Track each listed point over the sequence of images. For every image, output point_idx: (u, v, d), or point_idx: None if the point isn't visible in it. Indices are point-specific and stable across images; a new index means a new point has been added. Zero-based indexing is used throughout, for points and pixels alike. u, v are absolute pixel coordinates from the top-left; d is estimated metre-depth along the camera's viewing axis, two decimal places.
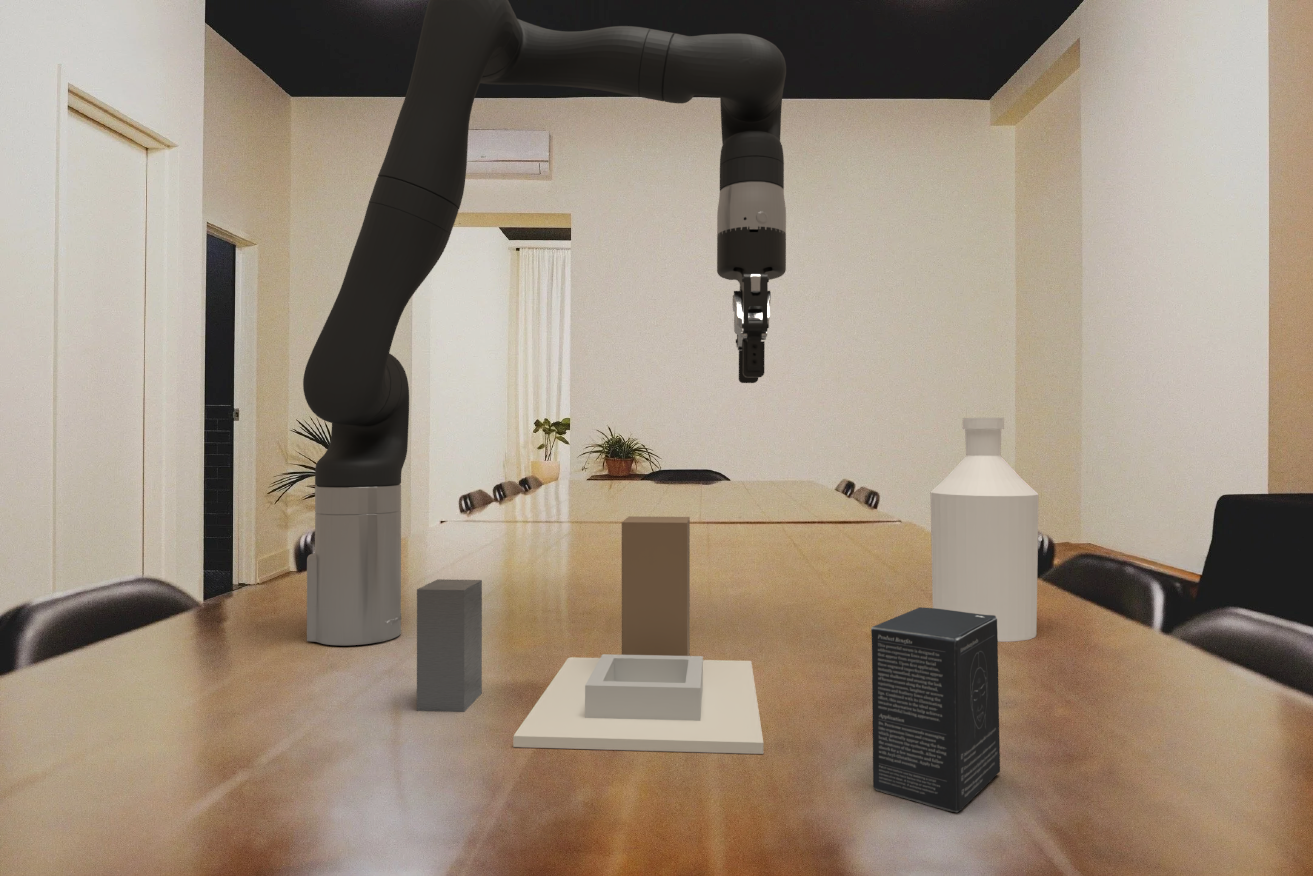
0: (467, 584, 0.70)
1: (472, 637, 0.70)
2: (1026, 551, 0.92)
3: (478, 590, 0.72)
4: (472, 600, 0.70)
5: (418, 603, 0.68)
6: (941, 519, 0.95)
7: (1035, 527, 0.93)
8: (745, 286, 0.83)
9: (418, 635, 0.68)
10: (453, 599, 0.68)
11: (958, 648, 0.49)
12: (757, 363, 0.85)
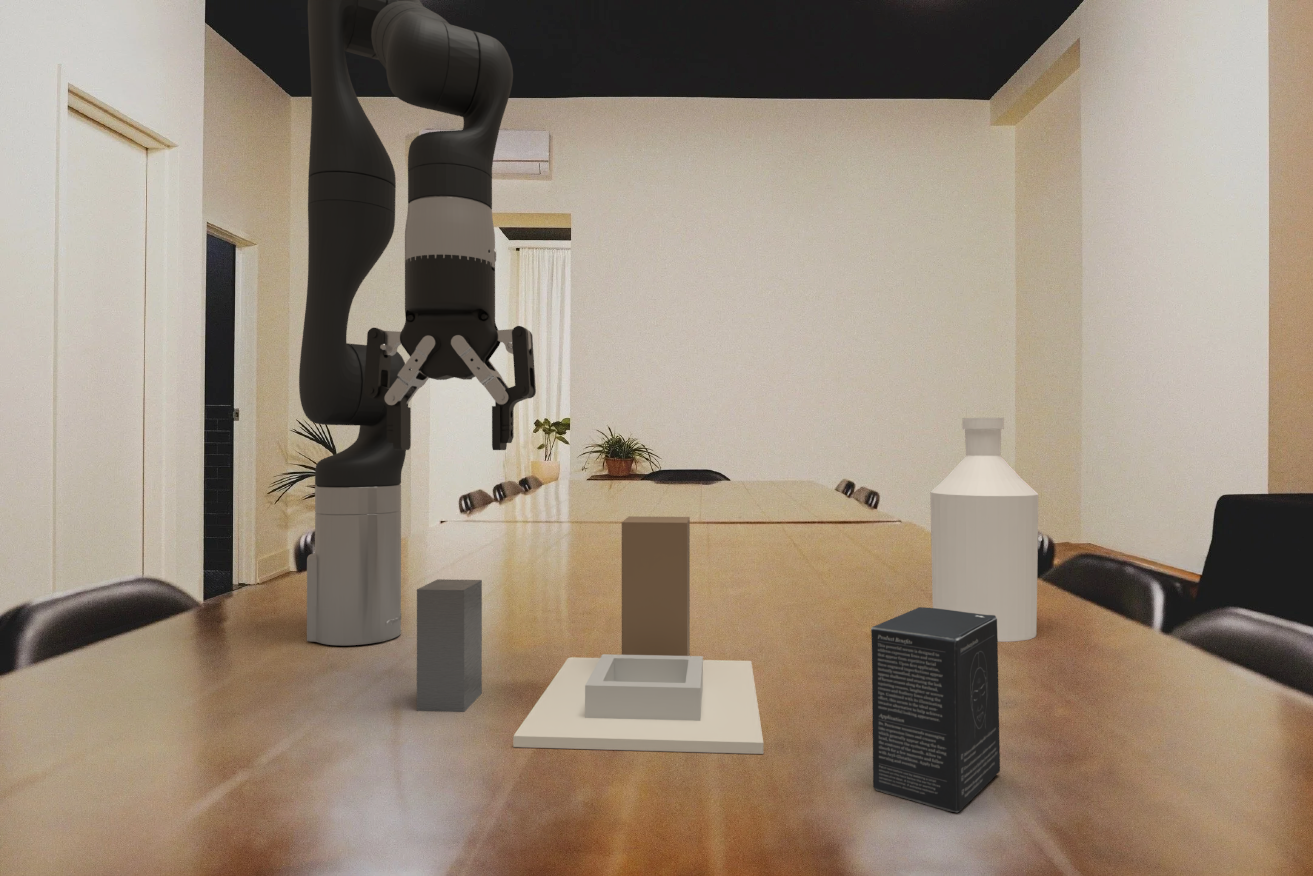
0: (467, 584, 0.70)
1: (472, 637, 0.70)
2: (1026, 551, 0.92)
3: (478, 590, 0.72)
4: (472, 600, 0.70)
5: (418, 603, 0.68)
6: (941, 519, 0.95)
7: (1035, 527, 0.93)
8: (527, 342, 0.69)
9: (418, 635, 0.68)
10: (453, 599, 0.68)
11: (958, 648, 0.49)
12: (511, 434, 0.70)
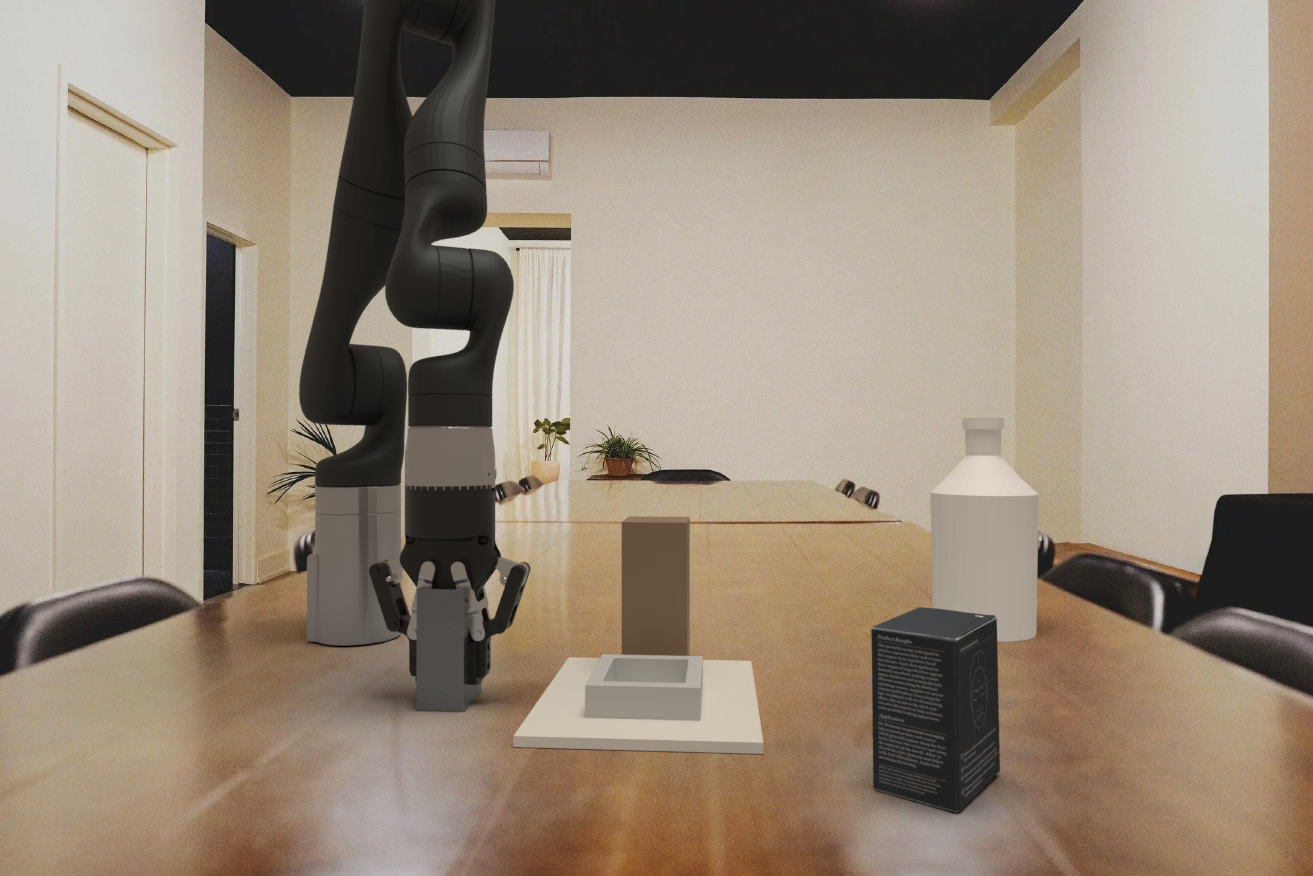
0: None
1: None
2: (1026, 551, 0.92)
3: None
4: None
5: (418, 603, 0.68)
6: (941, 519, 0.95)
7: (1035, 527, 0.93)
8: (520, 584, 0.69)
9: (418, 635, 0.68)
10: (453, 599, 0.68)
11: (958, 648, 0.49)
12: (488, 665, 0.70)
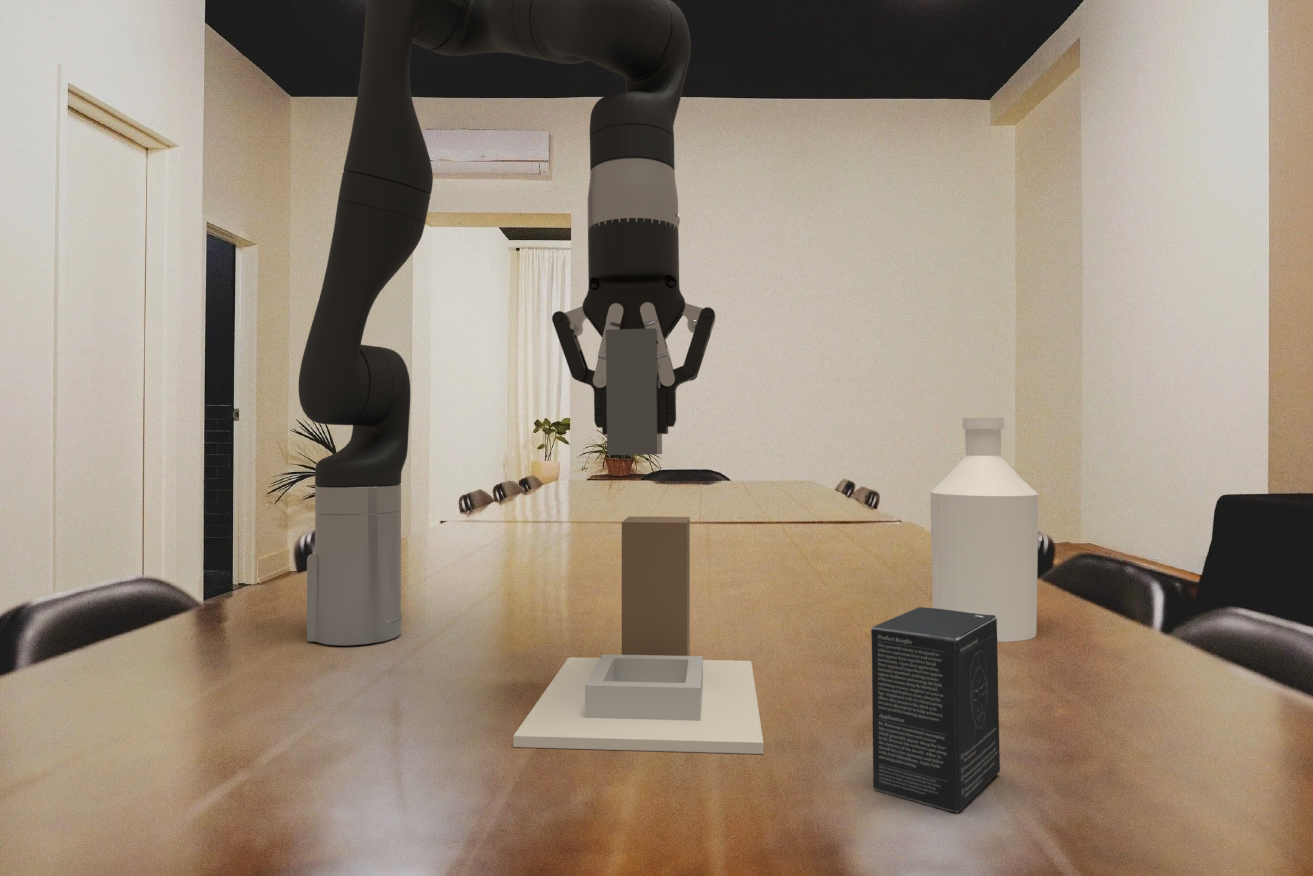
0: None
1: (658, 385, 0.67)
2: (1026, 551, 0.92)
3: None
4: None
5: (607, 344, 0.66)
6: (941, 519, 0.95)
7: (1035, 527, 0.93)
8: (711, 327, 0.66)
9: (608, 377, 0.66)
10: (644, 338, 0.65)
11: (958, 648, 0.49)
12: (674, 417, 0.68)
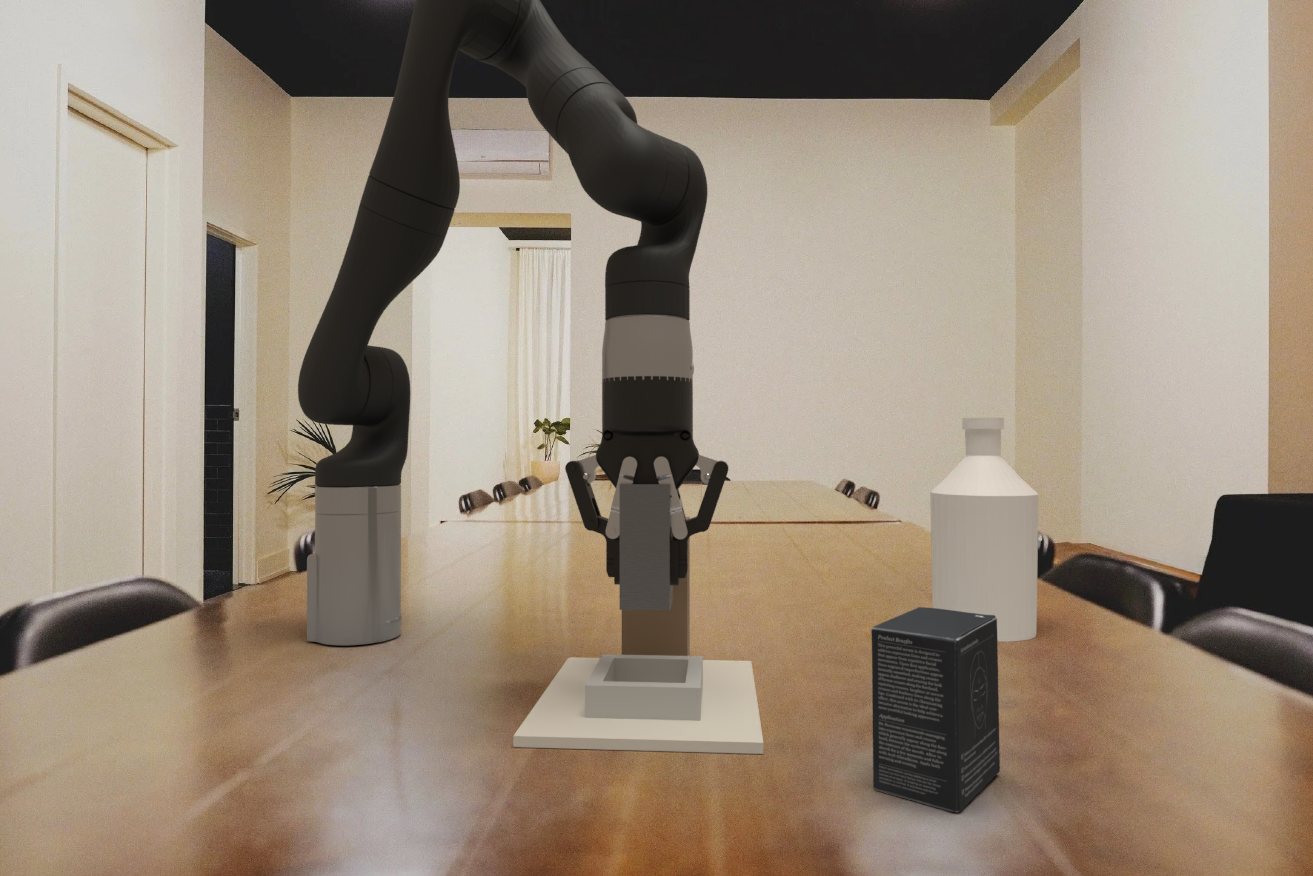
0: None
1: None
2: (1026, 551, 0.92)
3: None
4: None
5: (621, 498, 0.66)
6: (941, 519, 0.95)
7: (1035, 527, 0.93)
8: (724, 481, 0.67)
9: (621, 531, 0.66)
10: (658, 494, 0.65)
11: (958, 648, 0.49)
12: (686, 567, 0.68)
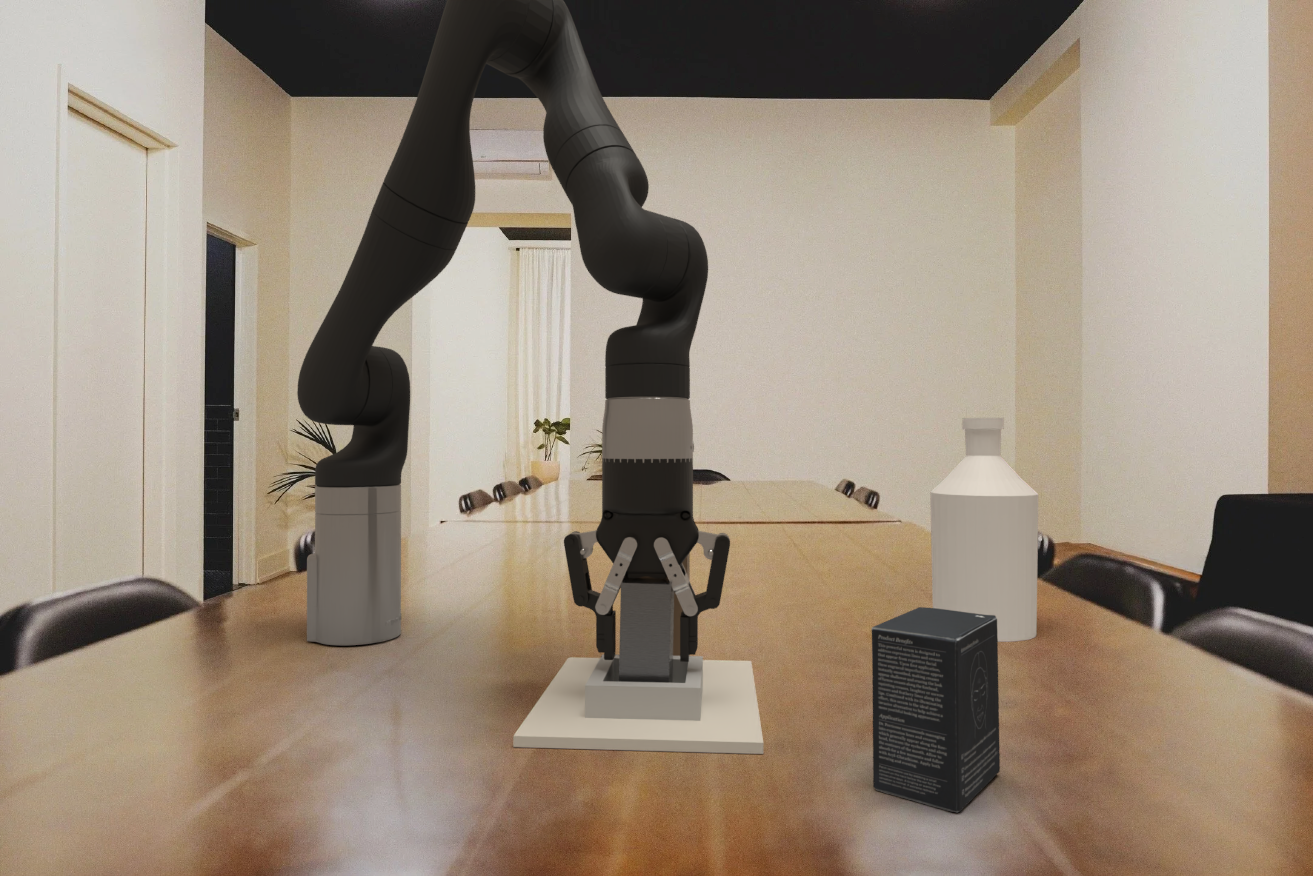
0: (666, 579, 0.68)
1: (671, 633, 0.67)
2: (1026, 551, 0.92)
3: None
4: (672, 595, 0.68)
5: (622, 597, 0.66)
6: (940, 519, 0.95)
7: (1035, 527, 0.93)
8: None
9: (621, 630, 0.66)
10: (659, 594, 0.65)
11: (958, 648, 0.49)
12: (696, 642, 0.68)
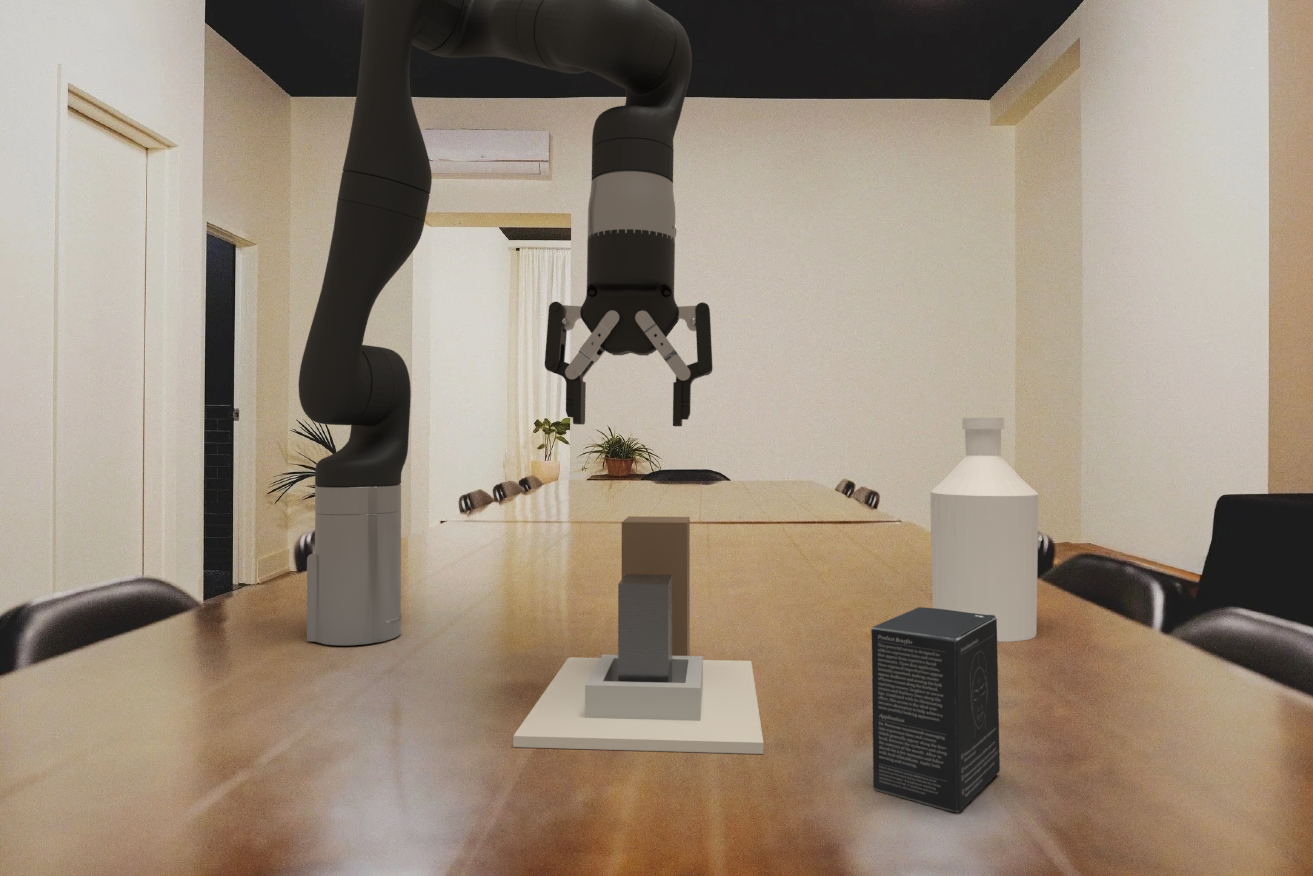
0: (663, 579, 0.68)
1: None
2: (1026, 551, 0.92)
3: (671, 585, 0.69)
4: None
5: (619, 598, 0.66)
6: (941, 519, 0.95)
7: (1035, 527, 0.93)
8: (709, 319, 0.69)
9: (620, 631, 0.66)
10: (656, 594, 0.65)
11: (958, 648, 0.49)
12: None
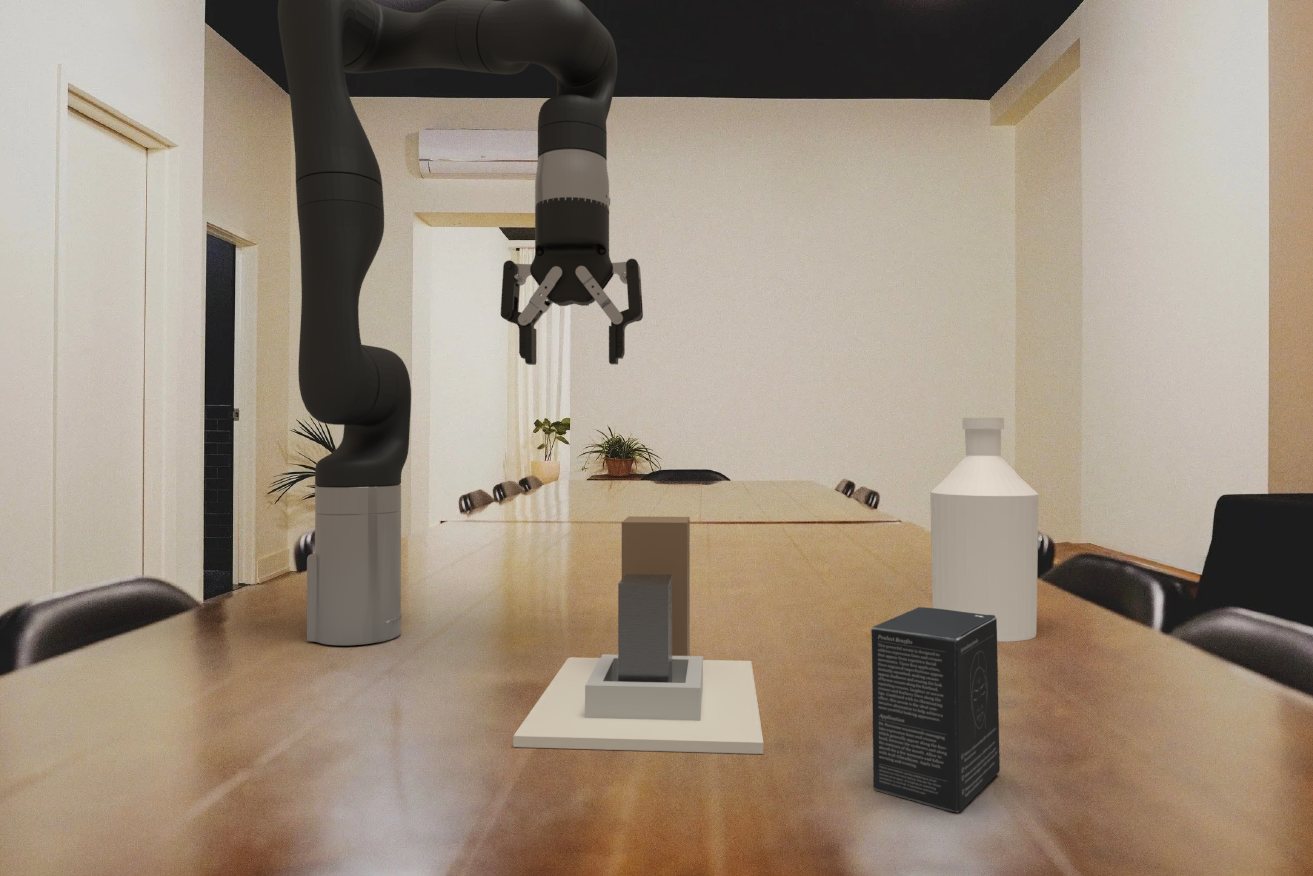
0: (663, 579, 0.68)
1: None
2: (1026, 551, 0.92)
3: (671, 585, 0.69)
4: None
5: (619, 598, 0.66)
6: (941, 519, 0.95)
7: (1035, 527, 0.93)
8: (638, 272, 0.82)
9: (620, 631, 0.66)
10: (656, 594, 0.65)
11: (958, 648, 0.49)
12: None
